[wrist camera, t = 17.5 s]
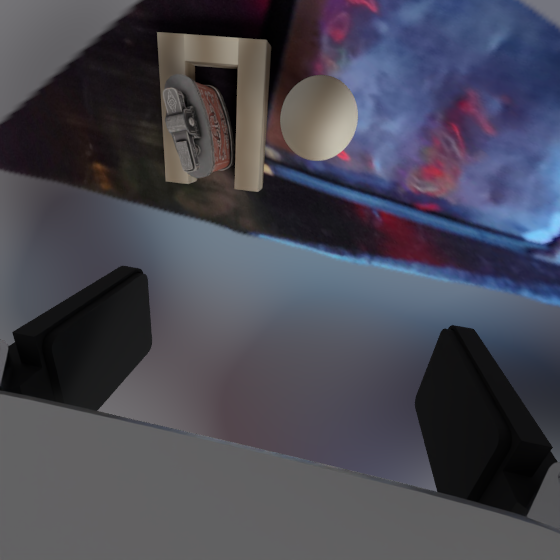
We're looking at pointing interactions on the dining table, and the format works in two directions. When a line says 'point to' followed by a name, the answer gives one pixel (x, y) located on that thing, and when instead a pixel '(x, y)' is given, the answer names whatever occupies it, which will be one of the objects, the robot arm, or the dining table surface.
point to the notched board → (250, 96)
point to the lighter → (198, 126)
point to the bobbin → (319, 117)
